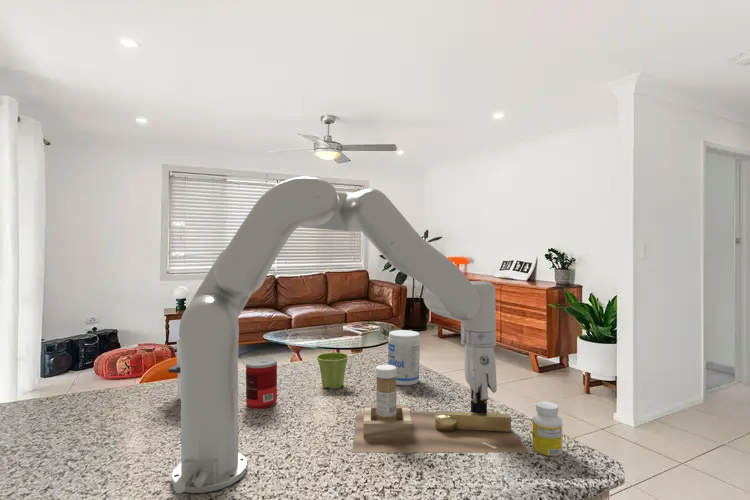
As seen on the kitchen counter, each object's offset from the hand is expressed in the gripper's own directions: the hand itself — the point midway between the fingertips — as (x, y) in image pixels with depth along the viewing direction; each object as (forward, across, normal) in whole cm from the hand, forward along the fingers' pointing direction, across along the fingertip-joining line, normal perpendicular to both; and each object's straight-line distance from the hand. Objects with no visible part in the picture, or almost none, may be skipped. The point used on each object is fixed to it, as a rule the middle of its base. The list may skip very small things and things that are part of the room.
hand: (478, 418), depth 94 cm
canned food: (+2, +16, +52) cm, 55 cm away
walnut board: (+2, -3, +11) cm, 11 cm away
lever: (+1, -3, +2) cm, 3 cm away
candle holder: (+2, +23, +72) cm, 75 cm away
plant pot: (+2, +30, +35) cm, 46 cm away
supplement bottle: (+3, -12, -10) cm, 16 cm away
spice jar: (+1, -2, +21) cm, 21 cm away
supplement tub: (+2, +34, +14) cm, 36 cm away
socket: (+1, -1, +21) cm, 21 cm away
